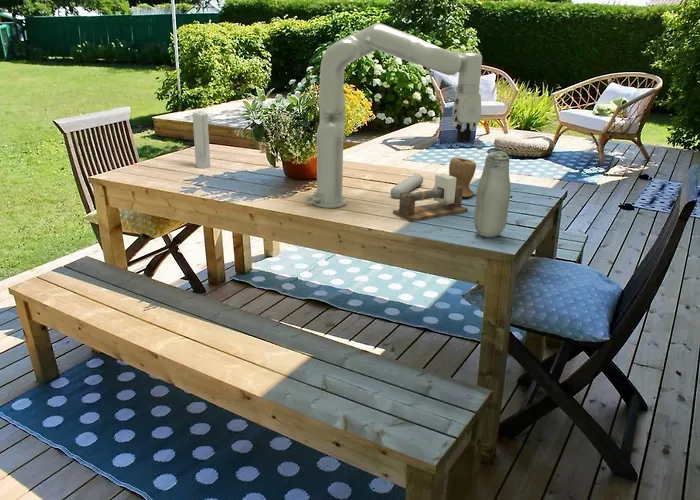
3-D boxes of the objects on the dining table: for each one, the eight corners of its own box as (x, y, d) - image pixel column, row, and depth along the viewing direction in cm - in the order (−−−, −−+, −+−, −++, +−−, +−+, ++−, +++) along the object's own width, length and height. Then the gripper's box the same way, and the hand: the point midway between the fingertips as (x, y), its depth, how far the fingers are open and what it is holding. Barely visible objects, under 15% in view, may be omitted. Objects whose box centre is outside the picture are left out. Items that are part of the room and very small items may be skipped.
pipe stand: (411, 222, 212) (412, 198, 209) (392, 213, 221) (393, 190, 218) (467, 211, 225) (469, 189, 222) (447, 204, 234) (449, 182, 231)
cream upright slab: (445, 204, 221) (448, 179, 217) (433, 199, 226) (435, 174, 223) (454, 203, 223) (456, 177, 219) (441, 198, 228) (443, 173, 225)
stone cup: (478, 194, 248) (482, 158, 242) (466, 201, 239) (469, 163, 233) (444, 188, 256) (447, 152, 250) (431, 194, 247) (434, 157, 241)
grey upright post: (208, 168, 278) (205, 112, 269) (194, 168, 278) (190, 112, 269) (211, 165, 284) (208, 110, 275) (197, 164, 284) (194, 110, 275)
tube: (402, 190, 236) (425, 176, 257) (390, 184, 238) (414, 171, 259) (397, 202, 239) (420, 187, 260) (386, 196, 240) (410, 182, 261)
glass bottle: (494, 243, 194) (505, 156, 184) (467, 235, 200) (475, 151, 190) (509, 236, 201) (520, 151, 191) (482, 228, 207) (491, 147, 197)
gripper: (458, 91, 207) (453, 145, 213) (492, 89, 215) (487, 141, 221) (443, 89, 213) (439, 141, 219) (477, 87, 221) (472, 138, 227)
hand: (463, 141), depth 220 cm, fingers closed
